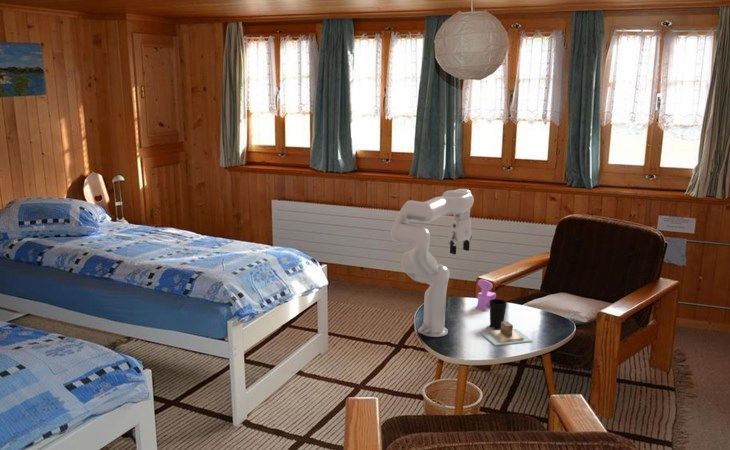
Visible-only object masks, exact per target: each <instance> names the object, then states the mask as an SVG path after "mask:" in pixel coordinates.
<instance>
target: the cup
mask: <svg viewBox="0 0 730 450" xmlns="http://www.w3.org/2000/svg"><path fill="white" fill-rule="evenodd" d="M506 309H507V301H506V300H503V299H500V298H495V299H492V300H490V306H489V323H490V324H489V326H490V328H492V329H495V330H501V322H505V321H504V320H505V313H506Z"/></svg>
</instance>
